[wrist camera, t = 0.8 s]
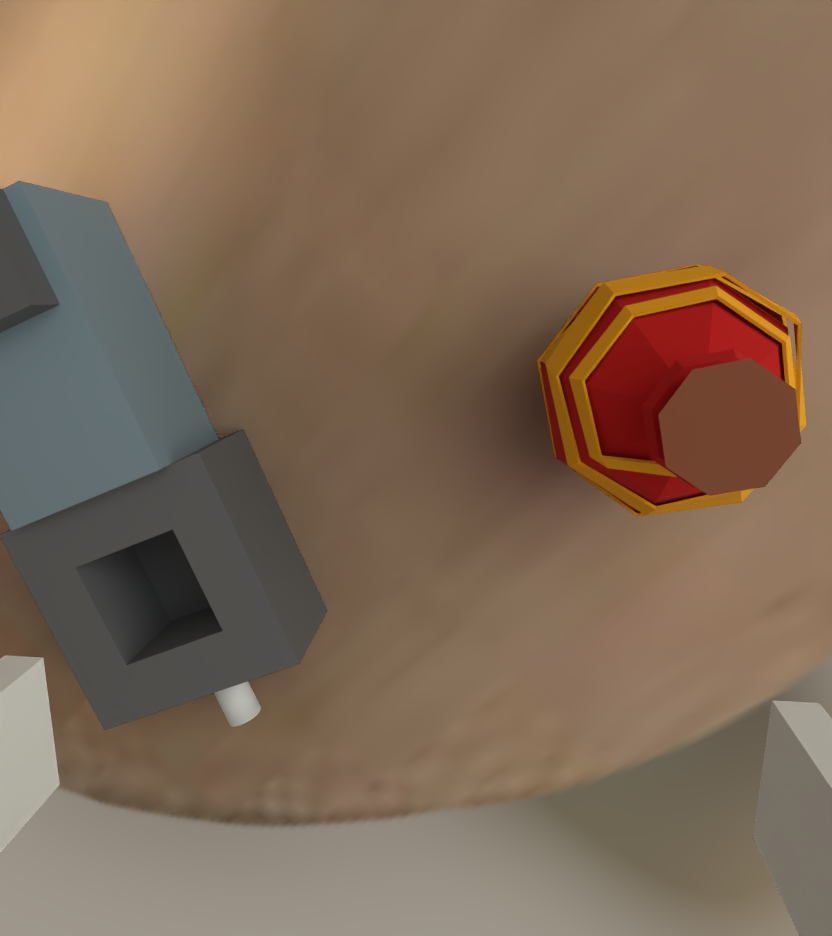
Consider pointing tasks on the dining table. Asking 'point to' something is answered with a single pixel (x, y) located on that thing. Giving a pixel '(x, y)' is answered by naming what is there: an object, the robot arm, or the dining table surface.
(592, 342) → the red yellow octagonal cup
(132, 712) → the block with square socket
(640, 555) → the dining table surface
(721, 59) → the dining table surface
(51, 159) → the dining table surface
